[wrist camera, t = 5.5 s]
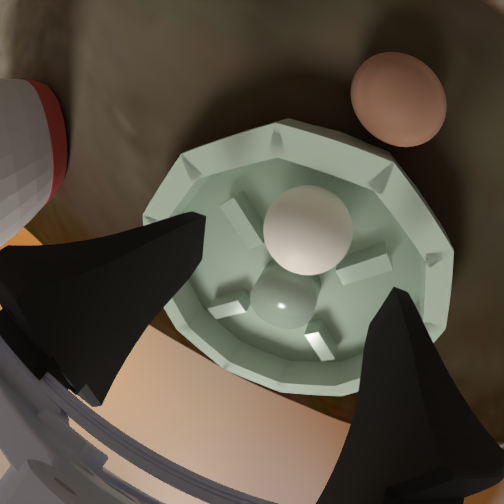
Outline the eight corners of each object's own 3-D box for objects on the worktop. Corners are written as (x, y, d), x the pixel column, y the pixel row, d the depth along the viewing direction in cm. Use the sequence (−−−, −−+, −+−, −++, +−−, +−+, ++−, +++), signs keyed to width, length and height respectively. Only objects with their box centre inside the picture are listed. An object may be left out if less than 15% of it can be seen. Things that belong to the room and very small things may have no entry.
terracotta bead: (441, 79, 9) (470, 74, 6) (419, 152, 11) (439, 174, 8) (362, 47, 10) (362, 28, 6) (342, 121, 12) (336, 131, 9)
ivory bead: (339, 256, 15) (329, 306, 12) (270, 232, 16) (243, 273, 12) (365, 190, 13) (365, 227, 9) (286, 164, 13) (259, 190, 10)
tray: (491, 201, 10) (514, 226, 8) (360, 387, 21) (355, 416, 19) (179, 95, 14) (145, 99, 12) (171, 311, 25) (153, 333, 22)
